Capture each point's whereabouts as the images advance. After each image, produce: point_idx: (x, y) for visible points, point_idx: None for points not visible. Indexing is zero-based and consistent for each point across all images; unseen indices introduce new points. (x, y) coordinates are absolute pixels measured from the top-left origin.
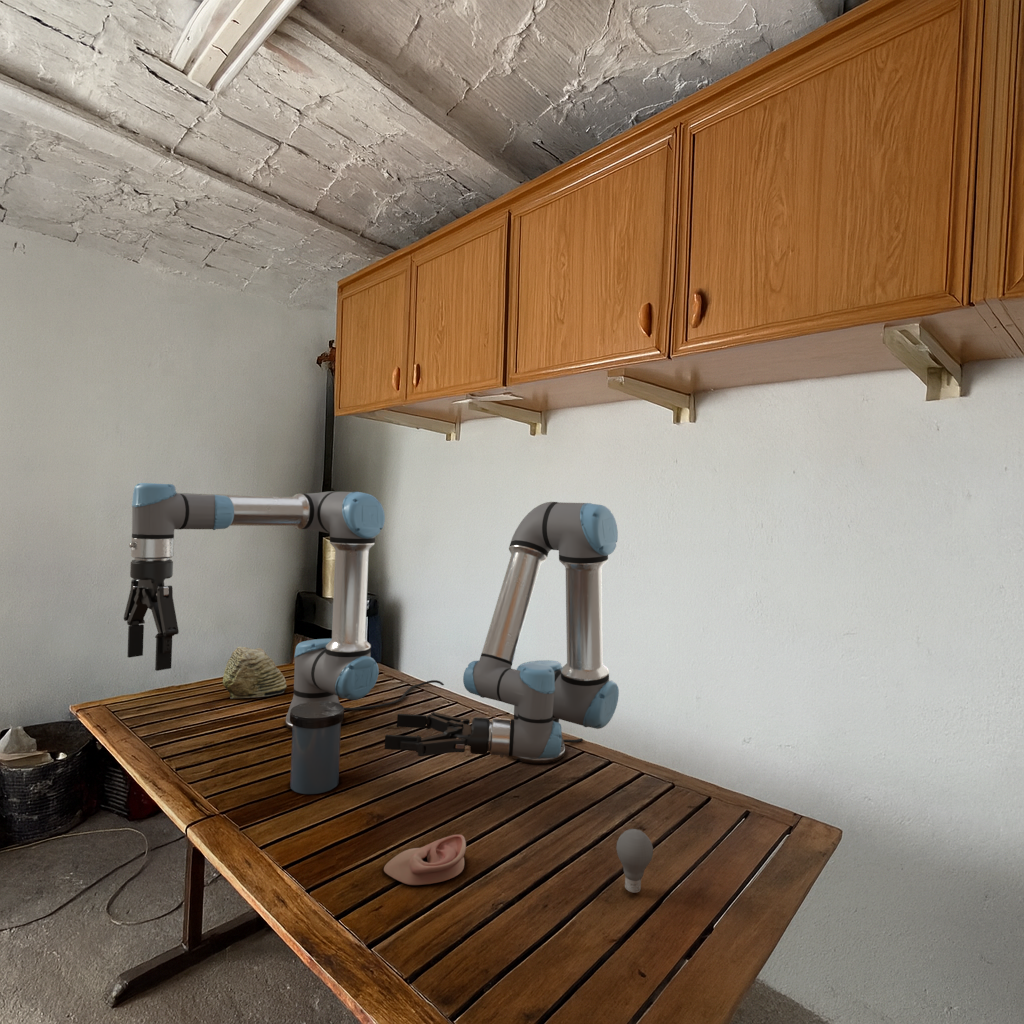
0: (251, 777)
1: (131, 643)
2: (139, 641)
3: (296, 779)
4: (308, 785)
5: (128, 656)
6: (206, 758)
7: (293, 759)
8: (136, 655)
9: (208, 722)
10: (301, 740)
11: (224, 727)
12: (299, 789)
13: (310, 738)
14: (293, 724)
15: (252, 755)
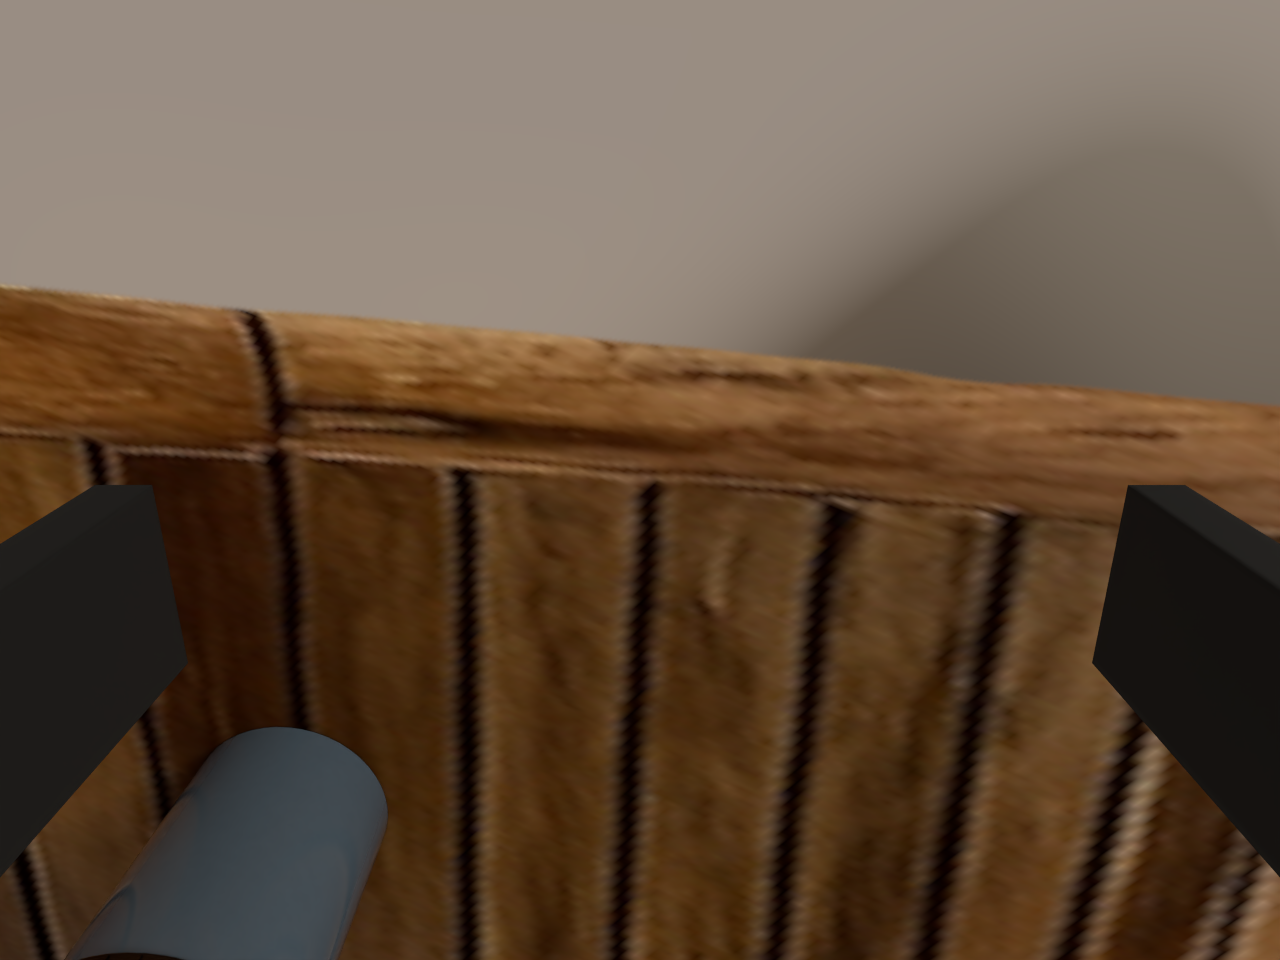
0: (518, 680)
1: (1266, 623)
2: (1243, 759)
3: (243, 761)
4: (201, 770)
5: (1150, 489)
6: (852, 645)
7: (239, 817)
8: (1113, 590)
9: None
10: (131, 903)
11: (1129, 845)
12: (241, 740)
13: (84, 936)
14: (137, 955)
15: (729, 782)
